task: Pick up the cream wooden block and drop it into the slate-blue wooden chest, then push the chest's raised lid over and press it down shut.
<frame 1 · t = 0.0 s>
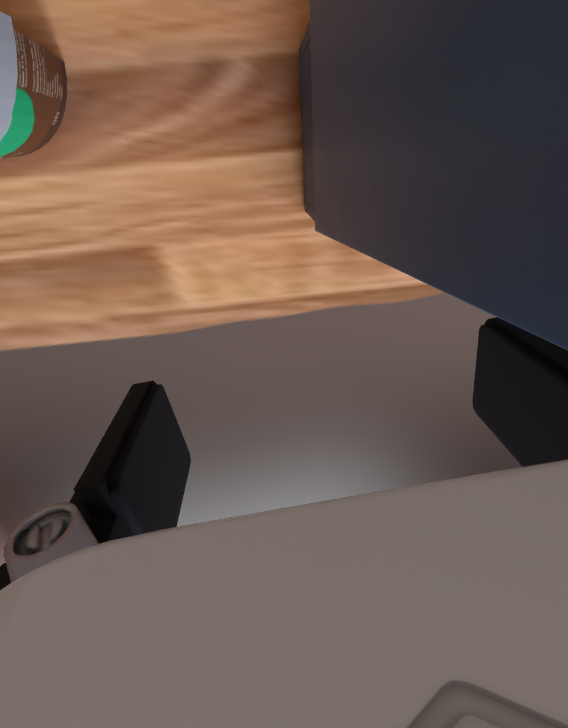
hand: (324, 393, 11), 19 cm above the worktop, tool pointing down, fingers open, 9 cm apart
lid: (419, 97, 10), point 16 cm above the worktop, hinge at 80.0°
chest: (419, 128, 24), on the worktop
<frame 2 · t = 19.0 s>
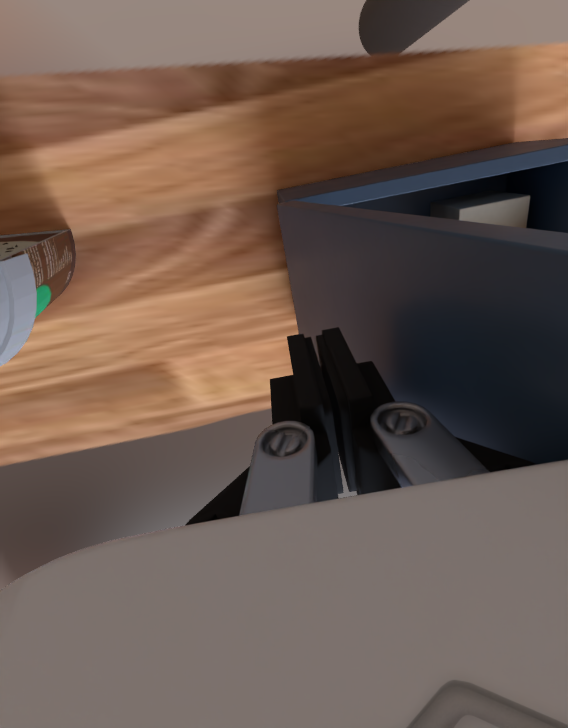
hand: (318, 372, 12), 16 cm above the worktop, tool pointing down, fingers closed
food container: (20, 280, 26), on the worktop
lid: (386, 362, 12), point 16 cm above the worktop, hinge at 75.8°, touching gripper
block: (459, 228, 25), point 1 cm above the worktop, touching chest
chest: (396, 238, 26), on the worktop
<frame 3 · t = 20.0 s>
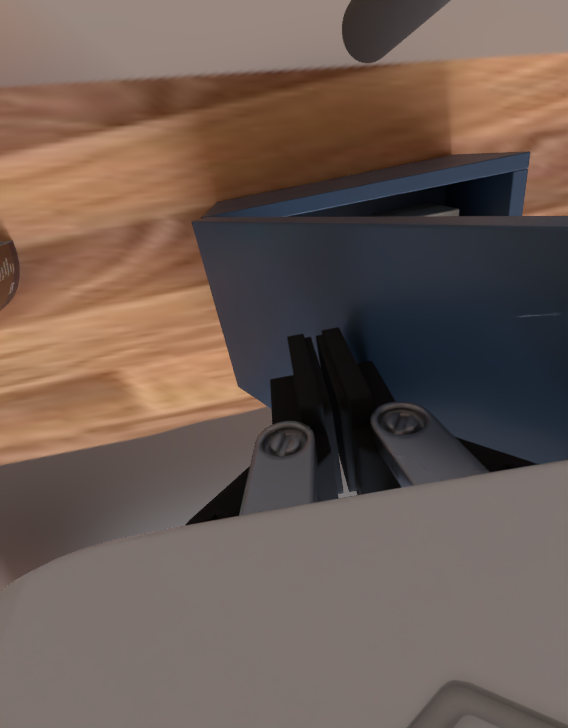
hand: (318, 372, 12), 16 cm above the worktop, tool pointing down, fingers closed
lid: (335, 354, 13), point 15 cm above the worktop, hinge at 56.2°, touching gripper
block: (400, 239, 25), point 1 cm above the worktop, touching chest
chest: (340, 249, 26), on the worktop
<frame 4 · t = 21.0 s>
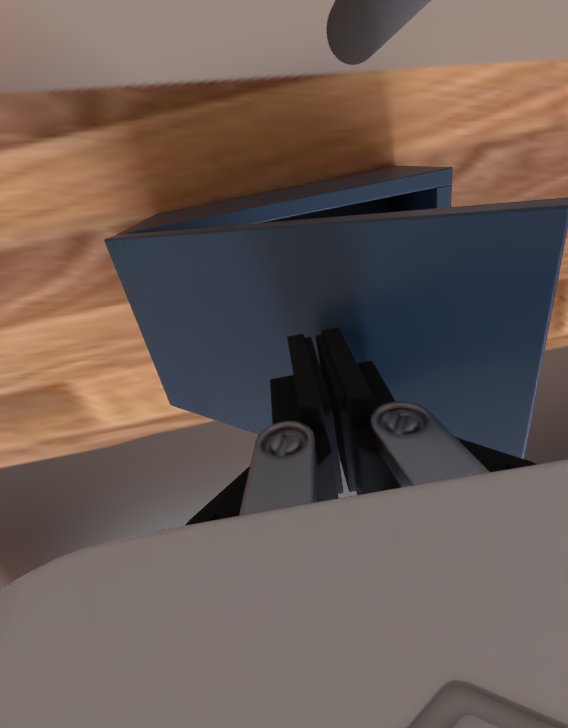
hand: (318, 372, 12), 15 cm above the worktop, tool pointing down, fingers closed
lid: (277, 349, 14), point 13 cm above the worktop, hinge at 38.1°, touching gripper
chest: (287, 260, 25), on the worktop
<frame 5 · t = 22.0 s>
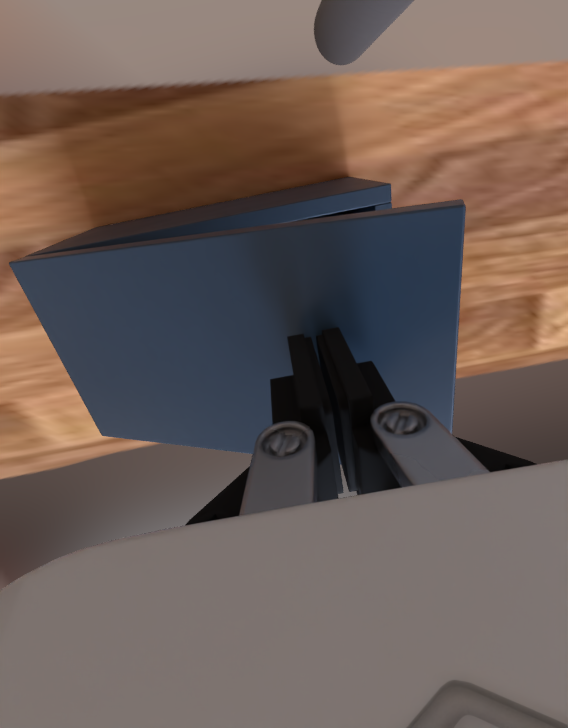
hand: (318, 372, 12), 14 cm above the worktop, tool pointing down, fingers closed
lid: (220, 358, 14), point 11 cm above the worktop, hinge at 22.8°, touching gripper
chest: (238, 276, 24), on the worktop
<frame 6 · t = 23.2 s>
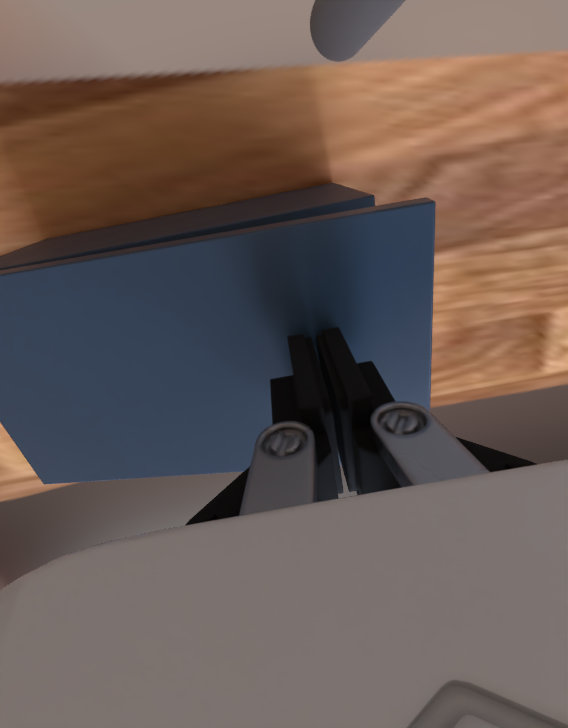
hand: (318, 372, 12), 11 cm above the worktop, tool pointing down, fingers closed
lid: (190, 374, 13), point 9 cm above the worktop, hinge at 8.3°, touching gripper
chest: (210, 293, 21), on the worktop
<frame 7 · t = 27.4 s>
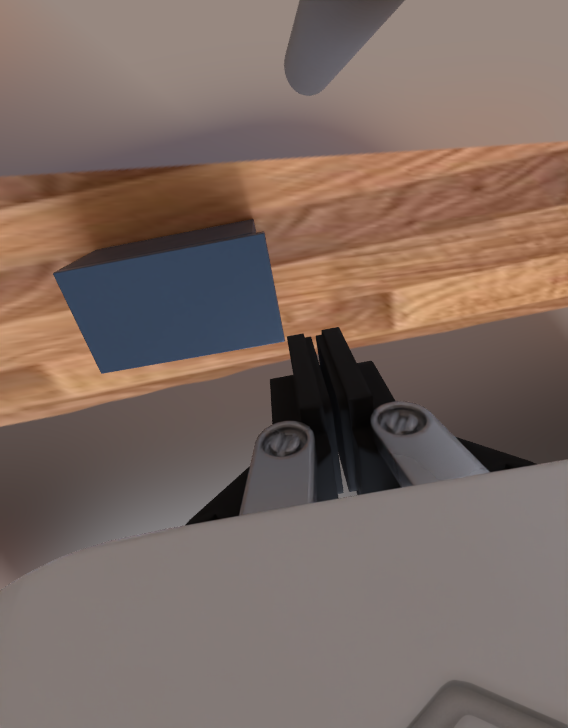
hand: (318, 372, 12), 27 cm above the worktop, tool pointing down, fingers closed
lid: (176, 307, 30), point 8 cm above the worktop, hinge at 1.3°
chest: (188, 280, 37), on the worktop
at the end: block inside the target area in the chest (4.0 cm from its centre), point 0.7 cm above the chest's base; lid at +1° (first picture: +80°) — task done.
